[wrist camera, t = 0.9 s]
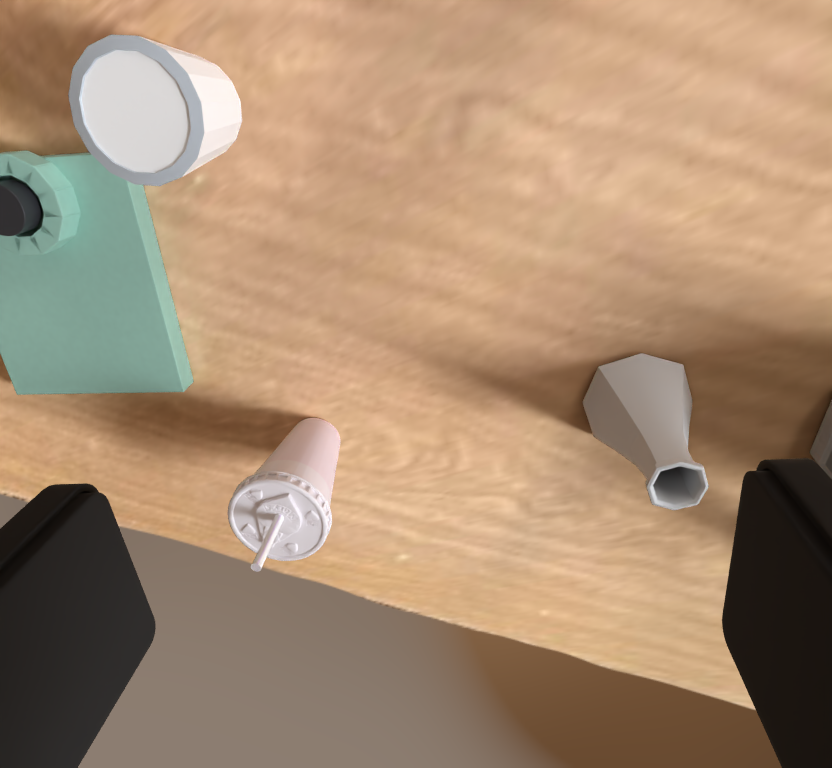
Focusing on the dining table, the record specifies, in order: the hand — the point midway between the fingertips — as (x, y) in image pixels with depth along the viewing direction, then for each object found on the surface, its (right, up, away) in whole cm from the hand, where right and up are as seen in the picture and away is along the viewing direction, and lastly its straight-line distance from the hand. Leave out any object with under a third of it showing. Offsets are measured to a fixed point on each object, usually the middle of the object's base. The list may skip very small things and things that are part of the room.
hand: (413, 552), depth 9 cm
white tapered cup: (-13, +19, +27) cm, 35 cm away
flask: (+15, +1, +33) cm, 36 cm away
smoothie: (-7, -2, +37) cm, 37 cm away
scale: (-23, +10, +32) cm, 41 cm away
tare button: (-24, +13, +27) cm, 39 cm away
